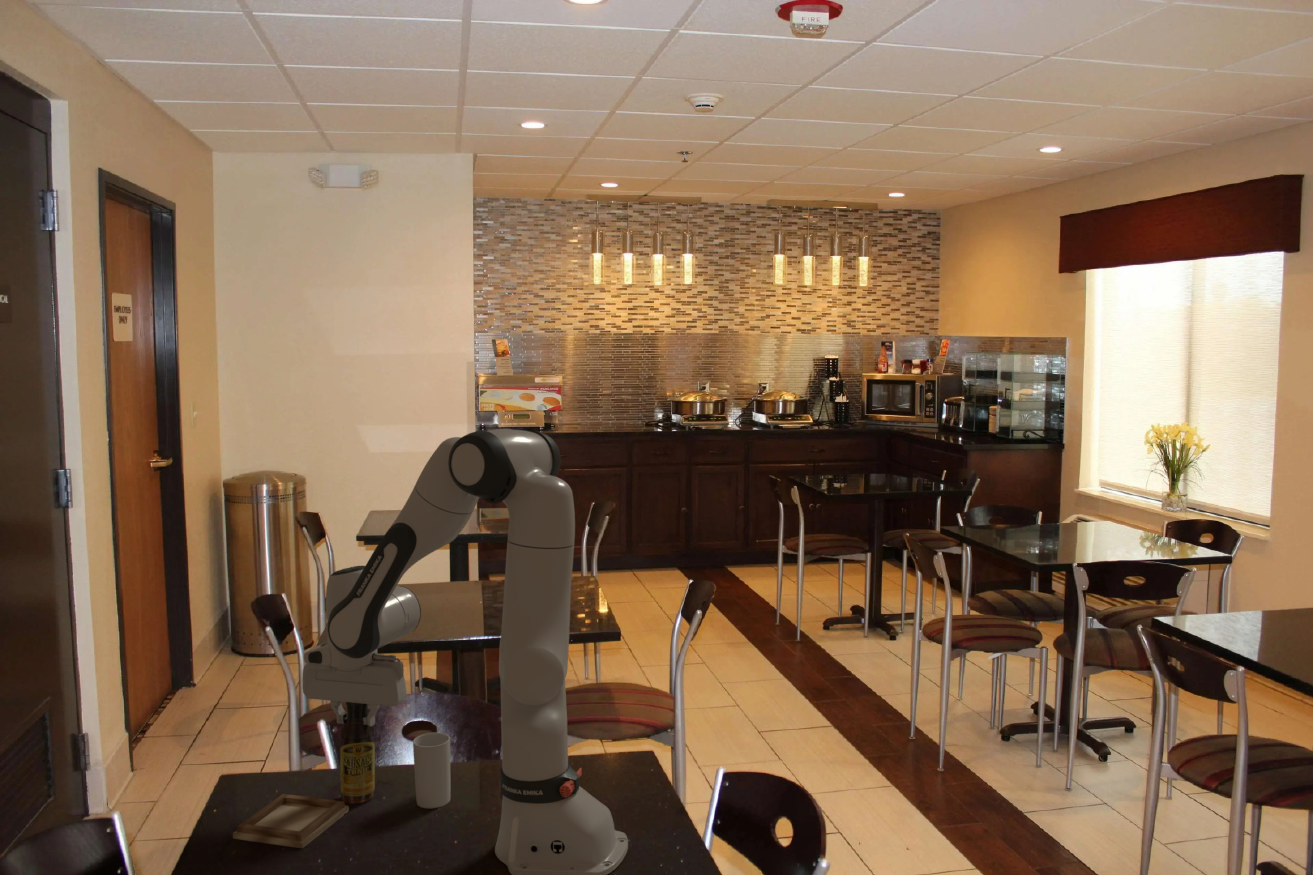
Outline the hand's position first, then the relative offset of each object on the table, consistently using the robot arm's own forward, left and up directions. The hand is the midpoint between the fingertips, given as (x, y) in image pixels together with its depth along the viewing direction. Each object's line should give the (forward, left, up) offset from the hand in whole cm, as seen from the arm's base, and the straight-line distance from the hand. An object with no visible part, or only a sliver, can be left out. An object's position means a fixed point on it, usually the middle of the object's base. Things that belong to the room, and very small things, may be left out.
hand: (356, 723), depth 187 cm
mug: (-14, -4, -15) cm, 21 cm away
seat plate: (+6, +12, -15) cm, 20 cm away
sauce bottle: (0, 0, -15) cm, 15 cm away
